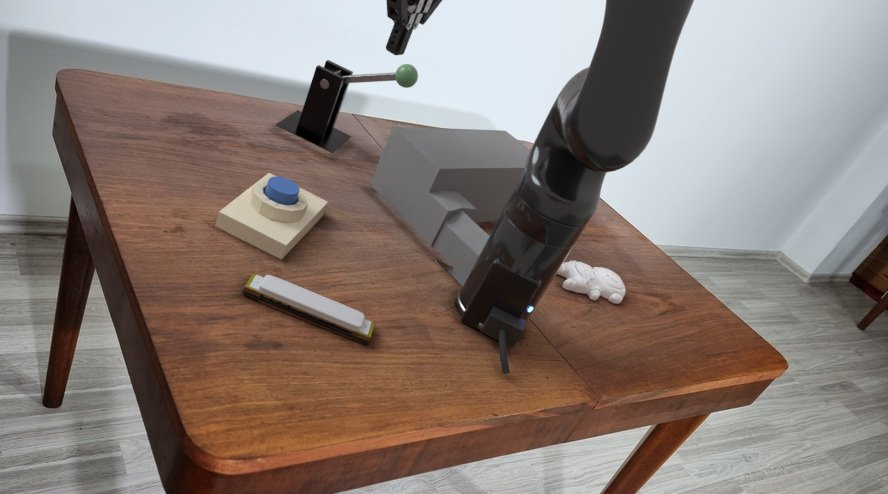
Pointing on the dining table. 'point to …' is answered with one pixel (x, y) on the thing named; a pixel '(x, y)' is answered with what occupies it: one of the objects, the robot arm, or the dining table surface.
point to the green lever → (386, 76)
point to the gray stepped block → (450, 186)
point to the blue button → (282, 190)
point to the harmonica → (309, 307)
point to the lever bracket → (321, 109)
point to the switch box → (270, 218)
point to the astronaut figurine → (592, 281)
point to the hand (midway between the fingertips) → (394, 52)
